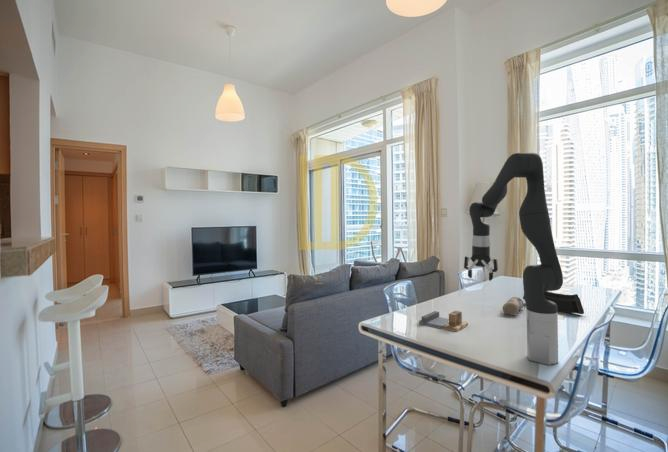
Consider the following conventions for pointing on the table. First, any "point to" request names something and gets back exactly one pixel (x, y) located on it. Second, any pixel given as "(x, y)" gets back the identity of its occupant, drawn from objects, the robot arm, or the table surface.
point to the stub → (455, 322)
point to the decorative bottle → (512, 306)
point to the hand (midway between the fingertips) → (480, 279)
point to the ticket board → (434, 320)
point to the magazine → (565, 302)
